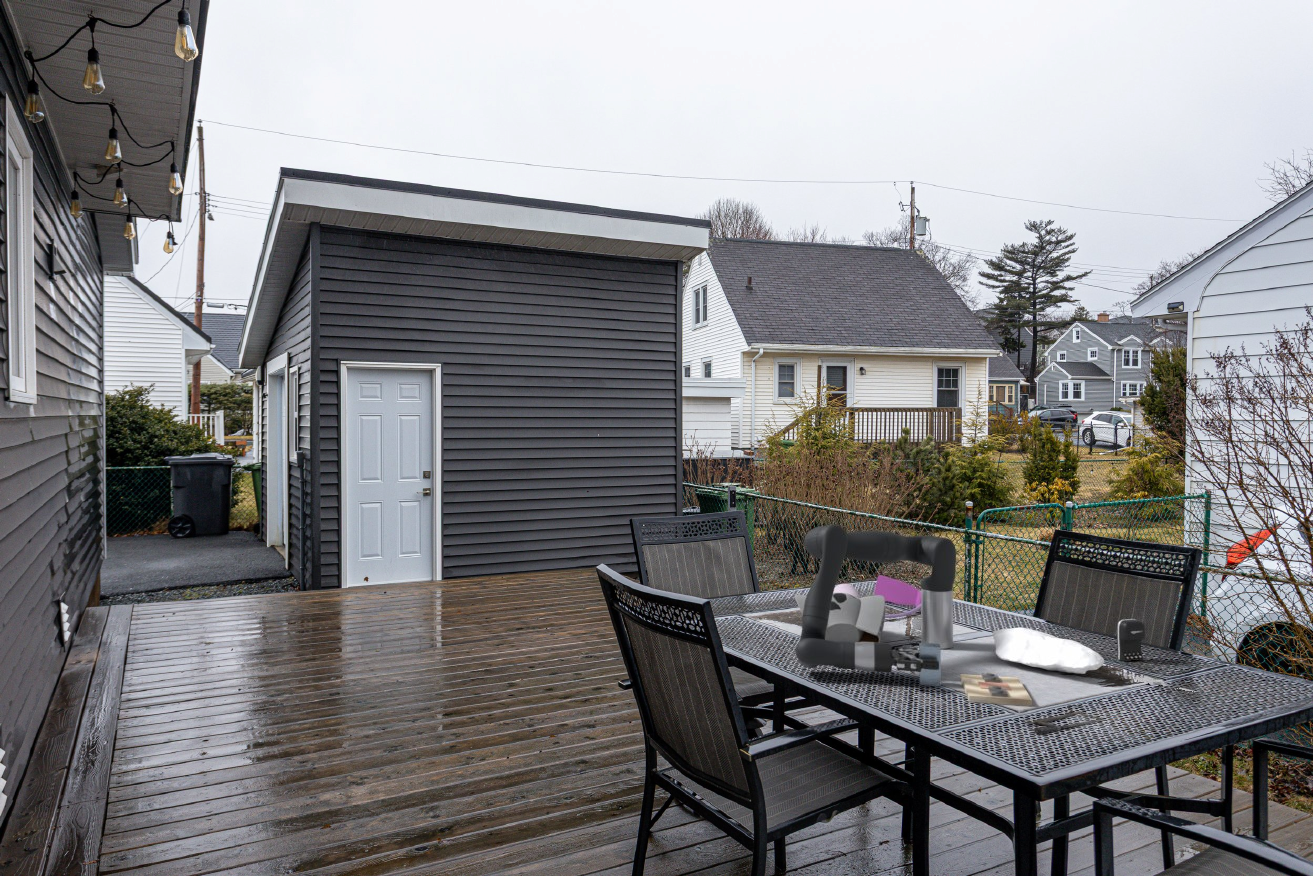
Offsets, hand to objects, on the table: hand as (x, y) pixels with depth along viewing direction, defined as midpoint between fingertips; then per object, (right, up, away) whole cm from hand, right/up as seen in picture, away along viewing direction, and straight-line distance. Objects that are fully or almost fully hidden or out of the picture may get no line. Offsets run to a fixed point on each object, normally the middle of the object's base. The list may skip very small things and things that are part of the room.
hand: (937, 660), depth 209 cm
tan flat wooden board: (+12, -6, -7) cm, 15 cm away
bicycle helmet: (-15, -6, +46) cm, 48 cm away
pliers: (+55, -6, -6) cm, 56 cm away
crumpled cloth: (+36, -6, +15) cm, 40 cm away
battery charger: (+62, -6, +20) cm, 66 cm away
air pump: (+8, -6, +84) cm, 85 cm away
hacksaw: (+18, -7, -26) cm, 33 cm away
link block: (-2, -6, 0) cm, 6 cm away
